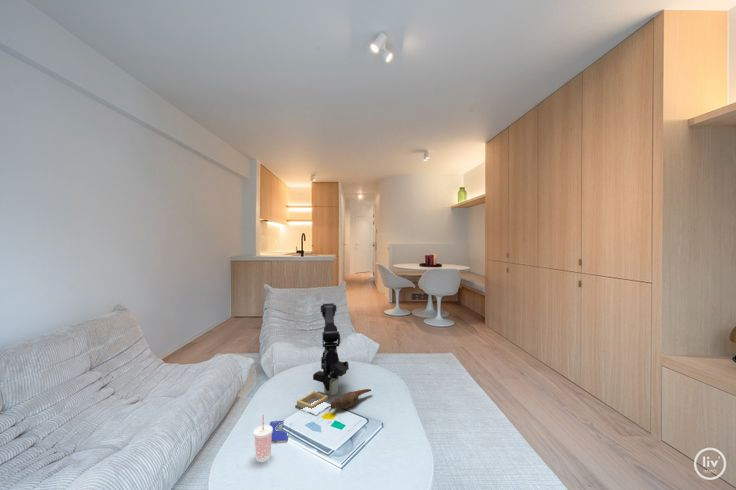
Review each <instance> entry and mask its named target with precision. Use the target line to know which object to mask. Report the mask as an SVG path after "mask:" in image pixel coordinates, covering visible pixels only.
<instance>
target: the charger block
mask: <svg viewBox="0 0 736 490" xmlns="http://www.w3.org/2000/svg"><path fill="white" fill-rule="evenodd" d="M330 378H331V377H330ZM338 381H339V380H338V379H335V378H332V379H331V380H330V386H329V391H327V390H326V388H325V386H324V385H323V393H325V394H328V395H331V396H334V395H336V394H338V390H339V386H338V384H339V383H338Z"/></svg>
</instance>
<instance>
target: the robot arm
mask: <svg viewBox="0 0 736 490" xmlns="http://www.w3.org/2000/svg"><path fill="white" fill-rule="evenodd" d="M336 312H337V304H335V303H334V302H333V303H332V302H331V303H330V302H329V303H322V305H320V313H321V317H322V318H323V321H324V327H323V332H322V348H324V350H323V352H322V356H321V361H320V362H321V365H320V366H321V370H322V371H321V370H319V371H316V372H315V373H313V374H312V380H313V381H317V382H320V383H322V384H323V387H324V386H325V388H326V390H327V391H329V386H330V380H331V379H332V378H335V379H338V378H339V377H343V376H344V375H346V374H347V371H349V369H350V368H349V366H350V365H349V362H348V361H340V357H339V353H338V347H340V344H341V333H340V332H339V331H338V326H336V325H335V316H336ZM330 377H331V378H330Z"/></svg>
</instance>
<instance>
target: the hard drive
mask: <svg viewBox="0 0 736 490" xmlns="http://www.w3.org/2000/svg"><path fill="white" fill-rule="evenodd" d="M283 421H284V420H272V421H270V422H269V425H270V426H272V427H273V432H272V438H271V444H281V443H282V444H283V443H288V439H289V437H288V436H287V433H285V432H283V431H276V430H275V427H276V426H277V425H278V424H279V423H281V422H283Z"/></svg>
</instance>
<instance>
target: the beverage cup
mask: <svg viewBox="0 0 736 490" xmlns="http://www.w3.org/2000/svg"><path fill="white" fill-rule="evenodd" d="M261 417H262V419H261V422H262V425H259V426H257V427H255V428H254V430H253V438H254V448H255V449H254V450H255V451H254V452H255V460H256V461H257V462H259V463H263V462H266V461H268V460H270V458H271V455H272V454H271V453H272V443H271V438H272V432H273V427H272V426H270V424H265V419H264V418H265V416H264V414H262V416H261Z"/></svg>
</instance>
